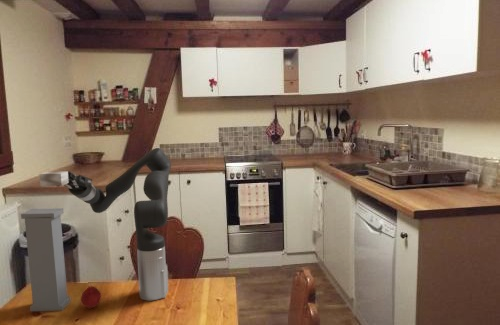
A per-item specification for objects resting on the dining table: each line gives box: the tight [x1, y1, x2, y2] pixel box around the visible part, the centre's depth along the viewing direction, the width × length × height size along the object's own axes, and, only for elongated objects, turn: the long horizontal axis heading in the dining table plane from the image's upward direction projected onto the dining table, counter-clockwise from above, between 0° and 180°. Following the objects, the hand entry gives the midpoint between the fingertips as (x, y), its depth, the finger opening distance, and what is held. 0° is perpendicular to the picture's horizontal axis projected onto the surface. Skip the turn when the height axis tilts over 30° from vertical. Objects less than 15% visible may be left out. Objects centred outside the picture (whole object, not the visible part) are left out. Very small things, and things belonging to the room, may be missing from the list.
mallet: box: [38, 170, 70, 187], centre depth 127 cm, size 7×14×4 cm, turn 2°
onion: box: [80, 283, 102, 309], centre depth 118 cm, size 6×6×8 cm
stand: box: [20, 208, 72, 312], centre depth 117 cm, size 10×6×32 cm, turn 92°
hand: (63, 174), depth 129 cm, fingers closed on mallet, 2 cm apart
